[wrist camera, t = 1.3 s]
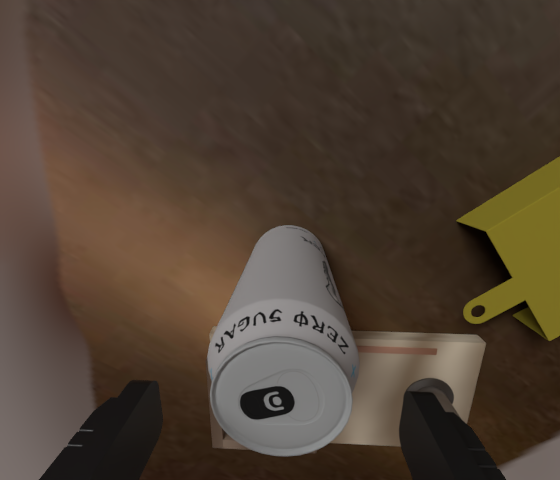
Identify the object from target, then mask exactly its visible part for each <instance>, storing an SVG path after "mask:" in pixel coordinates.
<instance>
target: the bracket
mask: <svg viewBox="0 0 560 480" xmlns="http://www.w3.org/2000/svg"><path fill="white" fill-rule="evenodd" d="M456 221H457V222H460V223H462V224H465V225H468V226H471V227H474V228H477V229H479V230H482V231H485V232H486V233H487V235H488V236H489V238H490V240H491V242H492V243H493V245H494V247H495V249H496V250H497V252H498V254H499V256H500V257H501V259H502V261H503V262H504V264H505V266H506V268H507V269H508V271H509V273H510V275H511V276H512V278H511V279H509V280H507V281H506V282H504V283H502V284H500V285H498V286H497V287H495V288H493V289H491V290H489V291H488V292H486V293H484V294H482V295H480V296H479V297H477V298H475V299H473V300H471V301H470V302H468V303H467V304H466V306H465V307H464V310H463V316H464V318H465V319H466V320H467V321H468V322H470V323H473V324H479V323H483V322H485V321H487V320H489V319H491V318H492V317H494V316H496V315H498V314H500V313H502V312H504V311H506V310H507V309H509V308H511V307H513V306H515V305H517V304H519V303H521V302H523V301H524V300H525V301H526V302H527V304H528V306H529V307H527V308H525V309H523V310H521V311H519V312H517V313H516V314H514V315H512V316H513V317H515V318H516V319H518V320H519V321H521V322H522V323H523V324H525V325H526V326H528V327H529V328H531V329H532V330H534V331H535V332H536V333H538V334H539V335H541V336H542V337H544V338H545V339H547V340H548V341H551V340H553V339H555V338H557V337H559V336H560V157H558V158H556V159H555V160H553V161H552V162H550V163H548V164H547V165H545V166H543V167H542V168H540V169H539V170H537V171H535V172H534V173H532V174H531V175H529V176H527V177H526V178H524V179H522V180H521V181H519V182H518V183H516V184H514V185H513V186H511V187H510V188H508V189H506V190H505V191H503V192H501V193H500V194H498V195H497V196H495V197H493V198H492V199H490V200H489V201H487V202H485V203H484V204H482V205H480V206H479V207H477V208H476V209H474V210H472V211H471V212H469V213H468V214H466V215H464V216H463V217H461V218H459V219H458V220H456ZM477 305H482V306H484V308H485V312H484V314H483V315H482V316H480V317H473V316H472V315H471V310H472V308H473V307H475V306H477Z"/></svg>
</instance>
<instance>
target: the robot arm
mask: <svg viewBox="0 0 560 480" xmlns="http://www.w3.org/2000/svg"><path fill="white" fill-rule="evenodd" d="M162 422H163V415H162V408H161V400H160V393H159V386H158V383H157V381H148V380H132V381H130V382H129V383H128V384H127V386H126V387H125V388H124V390H123V391H122V392H121V394H120V395H119V396H118V398H112V397H111V398H110V399H108V400H107V401H106V402H105V403H103V404H102V405H101V406H100V407H98V408H97V409H96V410H95V411H93V413H92V414H91V415H90V416H89V418H88V419H87V420H86V421H85V423H84V424H83V425H82V426H81V428H80V430H79V432H77V433H76V434H75V435H74V436H73V438H72V439H71V440H70V442H69V443H68V446H67V447H65V448H64V449H63V450H62V452H61V453H60V454H59V455H58V457H57V458H56V459H55V460H54V462H53V463H52V464H51V465H50V467H49V468H48V469H47V470H46V472H45V473H44V474H43V475H42V477H41V478H40V479H39V480H139V478H140V476H141V474H142V472H143V470H144V468H145V466H146V464H147V461H148V459H149V457H150V455H151V453H152V451H153V449H154V447H155V445H156V443H157V441H158V438H159V436H160V433H161V429H162ZM399 439H400V444H401V448H402V452H403V454H404V457H405V460H406V462H407V465H408V467H409V470H410V473H411V475H412V478H413V480H506V479H505V477H504V476H503V474H502V473H501V471H500V470H499V469H497V467H496V464H495V462H494V461H493V459H492V458H491V456H490V455H489V453H488V452H486V451H485V447H484V446H483V445H482V443H481V442H480V440H479V439H478V437H477V436H476V434H475V433H474V431H473V430H472V428H471V427H469V426H468V425H467V424H466V423H465V422H464V421H463V420H462V419H461V418H460V417H458V416H457V415H456V414H455V413H454V412H445V410H444V409H443V407H442V405H441V404H440V402H439V401H438V399H437V397H436V396H435V395H434V394H433V393H432V392H417V391H406V392H405V394H404V399H403V406H402V412H401V418H400V424H399Z"/></svg>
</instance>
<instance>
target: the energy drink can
mask: <svg viewBox="0 0 560 480" xmlns="http://www.w3.org/2000/svg"><path fill="white" fill-rule="evenodd" d="M207 359H208V371H209V374H210V378H211V381H212V383H211V389H210V401H211V407H212V410H213V413H214V416H215V418H216V420H217V421H218V423H219V425H220V426H221V427H222V429H223V430H224V431H225V432H226V433H227V434H228V435H229V436H230V437H231V438H233V439H234V440H235V441H236V442H238V443H239V444H241V445H243V446H245V447H247V448H248V449H251V450H254V451H256V452H259V453H263V454H268V455H272V456H296V455H302V454H306V453H310V452H313V451H315V450H318V449H320V448H322V447H324V446H326V445H327V444H329V443H330V442H331V441H333V440H334V439H335V438H336V437H337V436H338V435H339V434H340V433H341V432H342V431H343V429H344V427H345V426H346V424H347V423H348V420H349V417H350V415H351V412H352V403H353V397H352V393H353V390H354V388H355V385H356V382H357V379H358V376H359V365H360V362H359V354H358V349H357V346H356V343H355V340H354V337H353V334H352V331H351V329H350V326H349V323H348V320H347V317H346V314H345V311H344V308H343V305H342V302H341V299H340V296H339V293H338V290H337V287H336V285H335V282H334V279H333V276H332V273H331V270H330V267H329V264H328V261H327V258H326V255H325V252H324V250H323V247H322V245H321V243H320V242H319V240H318V239H317V238H316V237H315V236H314V235H313V234H312V233H311V232H309V231H308V230H306V229H304V228H301V227H298V226H293V225H285V226H279V227H276V228H273V229H271V230H269V231H268V232H266V233H265V234H264V235H263V236H262V237H261V238H260V239H259V241H258V242H257V243H256V245H255V248H254V250H253V252H252V254H251V256H250V258H249V260H248V262H247V265H246V267H245V269H244V271H243V273H242V275H241V277H240V279H239V281H238V284H237V286H236V288H235V290H234V292H233V294H232V296H231V298H230V301H229V303H228V305H227V307H226V309H225V311H224V313H223V315H222V317H221V320H220V322H219V324H218V326H217V328H216V330H215V332H214V335H213V337H212V340H211V342H210V344H209V350H208V356H207Z"/></svg>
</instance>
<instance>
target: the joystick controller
mask: <svg viewBox="0 0 560 480" xmlns="http://www.w3.org/2000/svg"><path fill="white" fill-rule="evenodd" d="M216 328H217V326H213V328H212V330H211V332H210V342H211V340H212V337H213V335H214V332H215V330H216ZM352 334H353V337H354V340H355V343H356V346H357V349H358V354H359V362H360V365H359V376H358V379H357V382H356V385H355V388H354V390H353V393H352V397H353V403H352V412H351V415H350V417H349V420H348V423H347V424H346V426H345V427H344V429H343V431H342V432H341V433H340V434H339V435H338V436H337V437H336V438H335V439H334V440H333V441H331V442H330V443H343V444H362V445H382V446H401V444H400V439H399V424H400V418H401V412H402V406H403V399H404V394H405V392H406V391H417V392H432V393H433V394H434V395H435V396H436V397H437V399H438V401H439V402H440V404H441V405H442V407H443V409H444V410H445V412H454V413H455V414H456V415H457V416H458V417H460V418H461V419H462V420H463V421H464V422H465V423H466V424H467V421H468V417H469V413H470V409H471V404H472V400H473V396H474V392H475V387H476V383H477V379H478V375H479V371H480V366H481V362H482V358H483V354H484V350H485V345H486V343H485V342H484V341H483V340H482V339H481V338H480V337H479V336H478V335H469V334H438V333H408V332H377V331H352ZM206 371H207V383H208V396H209V408H210V421H211V433H212V446H213V448H227V449H246V450H251V449H248V448H247V447H245V446H243V445H241V444H239V443H238V442H236V441H235V440H234V439H233V438H231V437H230V436H229V435H228V434H227V433H226V432H225V431H224V430H223V429H222V427H221V426H220V425H219V423H218V421H217V420H216V418H215V416H214V413H213V410H212V407H211V401H210V389H211V383H212V381H211V378H210V374H209V371H208V359H206ZM310 453H316V450H315V451H313V452H310Z"/></svg>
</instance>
